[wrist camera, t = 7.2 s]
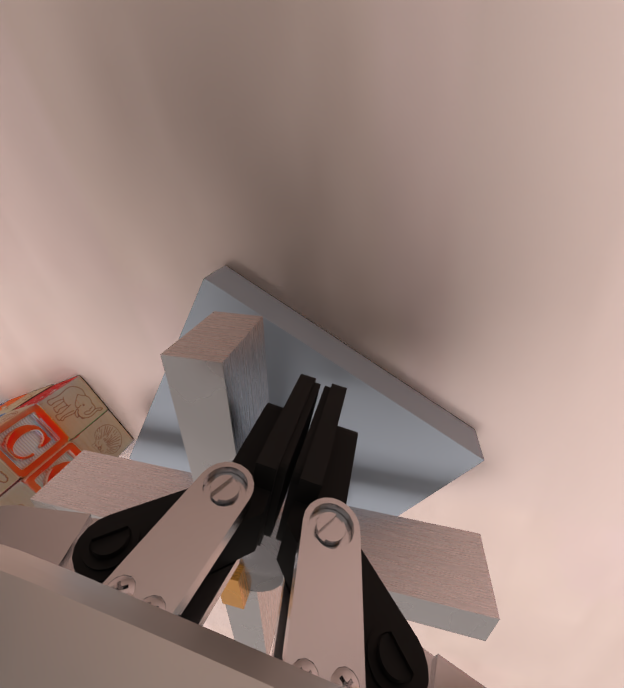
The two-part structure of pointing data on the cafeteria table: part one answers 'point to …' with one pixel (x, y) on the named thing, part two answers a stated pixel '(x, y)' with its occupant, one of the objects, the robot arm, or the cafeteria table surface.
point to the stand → (357, 412)
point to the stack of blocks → (52, 436)
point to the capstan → (261, 565)
